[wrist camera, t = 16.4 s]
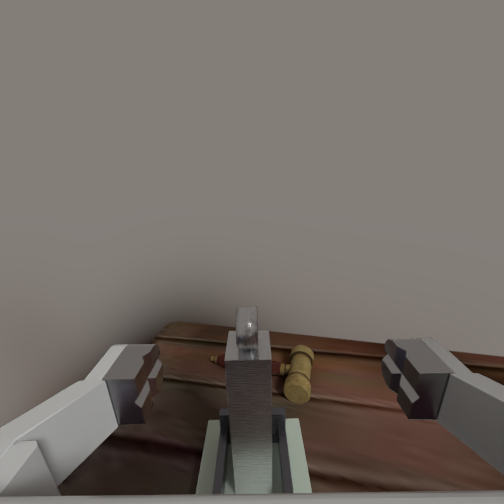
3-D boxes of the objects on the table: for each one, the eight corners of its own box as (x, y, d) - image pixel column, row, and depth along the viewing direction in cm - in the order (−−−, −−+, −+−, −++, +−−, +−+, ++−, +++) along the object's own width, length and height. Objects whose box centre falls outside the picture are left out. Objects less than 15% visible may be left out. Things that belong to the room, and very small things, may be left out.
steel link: (272, 494, 29) (271, 323, 21) (235, 494, 29) (221, 324, 22) (270, 453, 33) (268, 298, 26) (237, 454, 33) (226, 299, 26)
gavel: (197, 367, 47) (219, 334, 56) (201, 386, 48) (221, 351, 57) (309, 386, 40) (313, 345, 49) (310, 407, 42) (314, 364, 51)
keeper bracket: (321, 560, 25) (326, 520, 23) (186, 562, 25) (177, 522, 23) (298, 425, 38) (299, 391, 36) (209, 426, 39) (205, 393, 36)
